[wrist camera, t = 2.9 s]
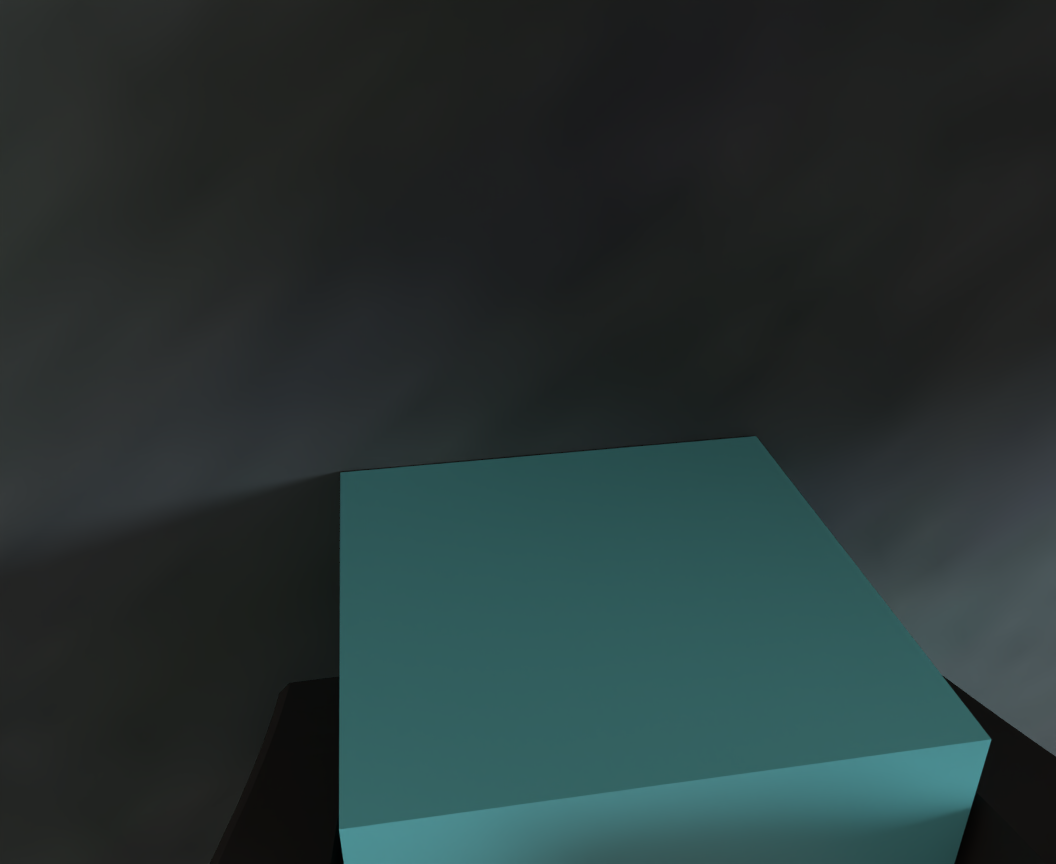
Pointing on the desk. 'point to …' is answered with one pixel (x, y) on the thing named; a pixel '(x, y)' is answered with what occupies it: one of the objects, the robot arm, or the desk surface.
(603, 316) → the desk surface
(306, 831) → the robot arm
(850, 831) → the teal block
